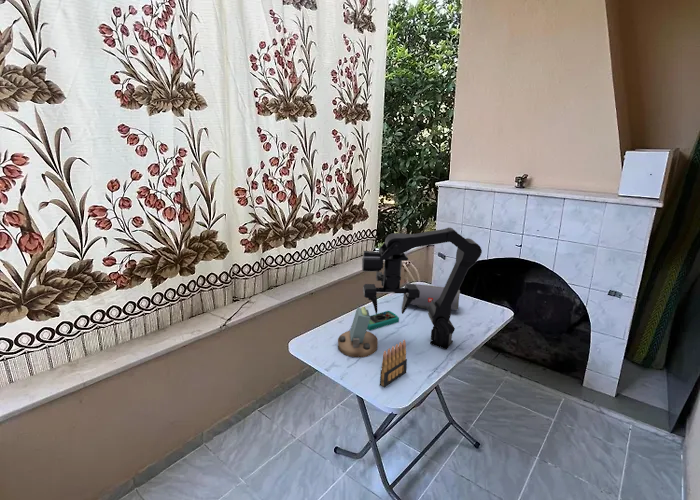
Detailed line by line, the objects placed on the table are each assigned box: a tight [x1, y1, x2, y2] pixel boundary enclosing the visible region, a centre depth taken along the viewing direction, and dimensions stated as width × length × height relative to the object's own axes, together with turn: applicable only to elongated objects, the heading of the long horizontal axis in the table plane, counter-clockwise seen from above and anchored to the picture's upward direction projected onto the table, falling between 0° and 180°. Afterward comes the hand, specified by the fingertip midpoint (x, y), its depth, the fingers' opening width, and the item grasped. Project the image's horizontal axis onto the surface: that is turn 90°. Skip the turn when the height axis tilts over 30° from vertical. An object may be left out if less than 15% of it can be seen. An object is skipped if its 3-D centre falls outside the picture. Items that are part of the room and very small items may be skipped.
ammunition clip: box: [379, 339, 408, 389], centre depth 115 cm, size 11×2×12 cm, turn 134°
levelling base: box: [337, 330, 379, 359], centre depth 133 cm, size 14×14×6 cm
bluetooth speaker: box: [402, 283, 461, 311], centre depth 161 cm, size 23×9×10 cm, turn 73°
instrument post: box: [349, 306, 371, 343], centre depth 131 cm, size 4×6×11 cm, turn 5°
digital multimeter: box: [367, 310, 400, 332], centre depth 150 cm, size 7×15×3 cm, turn 120°
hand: (389, 313), depth 131 cm, fingers open, 9 cm apart
